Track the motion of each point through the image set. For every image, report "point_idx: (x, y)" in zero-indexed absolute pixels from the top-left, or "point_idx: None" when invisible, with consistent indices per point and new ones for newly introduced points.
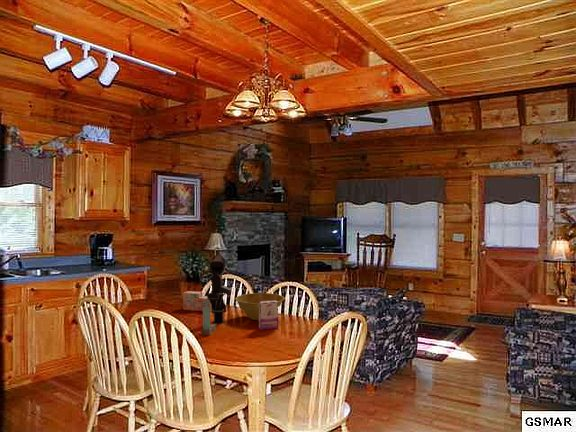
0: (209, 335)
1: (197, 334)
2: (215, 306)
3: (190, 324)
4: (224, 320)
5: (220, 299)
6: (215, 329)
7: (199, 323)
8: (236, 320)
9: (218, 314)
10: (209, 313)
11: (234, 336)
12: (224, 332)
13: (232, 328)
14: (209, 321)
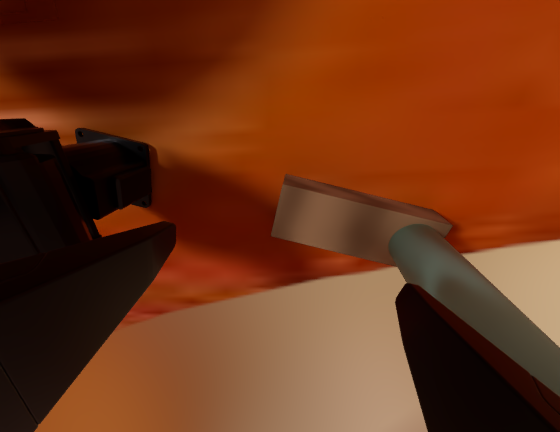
0: (433, 210)
1: (383, 268)
2: (470, 327)
3: (196, 299)
4: (85, 129)
5: (55, 295)
6: (309, 180)
7: (173, 265)
8: (38, 22)
9: (103, 186)
10: (539, 330)
11: (541, 6)
12: (383, 112)
13: (279, 46)
14: (468, 263)
